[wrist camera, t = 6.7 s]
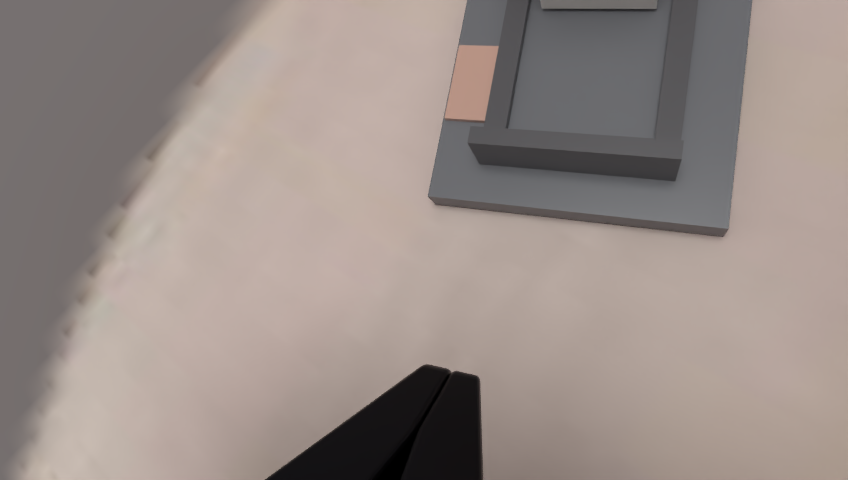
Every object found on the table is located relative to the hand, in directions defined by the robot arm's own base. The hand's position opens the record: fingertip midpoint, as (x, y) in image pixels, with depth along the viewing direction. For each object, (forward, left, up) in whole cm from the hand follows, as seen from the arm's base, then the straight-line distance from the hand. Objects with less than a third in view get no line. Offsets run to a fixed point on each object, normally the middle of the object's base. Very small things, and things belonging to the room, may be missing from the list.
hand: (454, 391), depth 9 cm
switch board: (+11, +7, -12) cm, 18 cm away
